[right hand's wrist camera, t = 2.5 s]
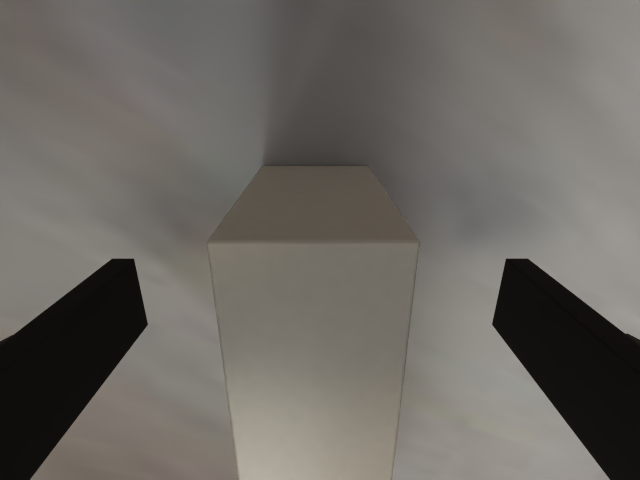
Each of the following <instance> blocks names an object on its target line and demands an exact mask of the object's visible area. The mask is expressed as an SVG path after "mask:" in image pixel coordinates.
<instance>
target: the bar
mask: <svg viewBox="0 0 640 480" xmlns="http://www.w3.org/2000/svg"><path fill="white" fill-rule="evenodd" d="M207 247H208V254H209V262H210V270H211V277H212V285H213V292H214V300H215V307H216V315H217V322H218V330H219V337H220V345H221V353H222V360H223V368H224V375H225V383H226V390H227V398H228V405H229V413H230V420H231V428H232V436H233V443H234V451H235V458H236V466H237V473H238V480H392V474H393V466H394V457H395V449H396V440H397V431H398V423H399V414H400V406H401V397H402V389H403V380H404V371H405V363H406V354H407V346H408V337H409V329H410V320H411V311H412V303H413V294H414V286H415V277H416V269H417V260H418V252H419V240H418V238H417V237H416V235H415V234H414V232H413V231H412V229H411V228H410V226H409V225H408V224H407V222H406V221H405V219H404V218H403V216H402V215H401V213H400V212H399V210H398V209H397V207H396V206H395V204H394V203H393V201H392V200H391V198H390V197H389V196H388V194H387V193H386V191H385V190H384V188H383V187H382V185H381V184H380V182H379V181H378V179H377V178H376V176H375V175H374V173H373V172H372V170H371V169H370V168H369V166H262V167H261V169H260V170H259V171H258V173H257V174H256V175H255V177H254V178H253V180H252V181H251V182H250V184H249V185H248V186H247V188H246V189H245V190H244V192H243V193H242V195H241V196H240V197H239V199H238V200H237V201H236V203H235V204H234V205H233V207H232V208H231V210H230V211H229V212H228V214H227V215H226V216H225V218H224V219H223V220H222V222H221V223H220V225H219V226H218V227H217V229H216V230H215V231H214V233H213V234H212V235H211V237H210V238H209V240H208V242H207Z"/></svg>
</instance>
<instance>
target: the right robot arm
mask: <svg viewBox="0 0 640 480" xmlns="http://www.w3.org/2000/svg"><path fill="white" fill-rule="evenodd" d="M147 325H148V323H147V318H146V314H145V309H144V304H143V299H142V295H141V290H140V285H139V280H138V276H137V271H136V266H135V262H134V259H111V260H110V261H109V262H107V263H106V264H105V265H103V266H102V267H101V268H100V269H98V270H97V271H96V272H94V273H93V274H92V275H91V276H89V277H88V278H87V279H85V280H84V281H83V282H81V283H80V284H79V285H78V286H76V287H75V288H74V289H72V290H71V291H70V292H69V293H67V294H66V295H65V296H63V297H62V298H61V299H59V300H58V301H57V302H56V303H54V304H53V305H52V306H50V307H49V308H48V309H47V310H45V311H44V312H43V313H41V314H40V315H39V316H37V317H36V318H35V319H34V320H32V321H31V322H30V323H28V324H27V325H26V326H24V327H23V328H22V329H21V330H19V331H18V332H17V333H15V334H14V335H12V336H10V337H8V338H6V339H4V340H2V341H0V480H30V479H31V477H32V476H33V475H34V474H35V472H36V471H37V470H38V468H39V467H40V466H41V464H42V463H43V462H44V460H45V459H46V458H47V456H48V455H49V454H50V452H51V451H52V450H53V449H54V447H55V446H56V445H57V443H58V442H59V441H60V439H61V438H62V437H63V435H64V434H65V433H66V431H67V430H68V429H69V428H70V426H71V425H72V424H73V422H74V421H75V420H76V418H77V417H78V416H79V414H80V413H81V412H82V410H83V409H84V408H85V407H86V405H87V404H88V403H89V401H90V400H91V399H92V397H93V396H94V395H95V393H96V392H97V391H98V389H99V388H100V387H101V385H102V384H103V383H104V382H105V380H106V379H107V378H108V376H109V375H110V374H111V372H112V371H113V370H114V368H115V367H116V366H117V364H118V363H119V362H120V361H121V359H122V358H123V357H124V355H125V354H126V353H127V351H128V350H129V349H130V347H131V346H132V345H133V343H134V342H135V341H136V339H137V338H138V337H139V336H140V334H141V333H142V332H143V330H144V329H145V328H146V326H147ZM492 325H493V326H494V328H495V329H496V330H497V332H498V333H499V334H500V336H501V337H502V338H503V339H504V341H505V342H506V343H507V345H508V346H509V347H510V349H511V350H512V351H513V353H514V354H515V355H516V357H517V358H518V359H519V361H520V362H521V363H522V364H523V366H524V367H525V368H526V370H527V371H528V372H529V374H530V375H531V376H532V378H533V379H534V380H535V382H536V383H537V384H538V385H539V387H540V388H541V389H542V391H543V392H544V393H545V395H546V396H547V397H548V399H549V400H550V401H551V403H552V404H553V405H554V407H555V408H556V409H557V410H558V412H559V413H560V414H561V416H562V417H563V418H564V420H565V421H566V422H567V424H568V425H569V426H570V428H571V429H572V430H573V431H574V433H575V434H576V435H577V437H578V438H579V439H580V441H581V442H582V443H583V445H584V446H585V447H586V449H587V450H588V451H589V453H590V454H591V455H592V456H593V458H594V459H595V460H596V462H597V463H598V464H599V466H600V467H601V468H602V470H603V471H604V472H605V474H606V475H607V476H608V477H609V479H610V480H640V340H639V339H637V338H635V337H633V336H631V335H629V334H625V333H623V332H622V331H621V330H619V329H618V328H617V327H616V326H614V325H613V324H612V323H610V322H609V321H608V320H606V319H605V318H604V317H603V316H601V315H600V314H599V313H597V312H596V311H595V310H593V309H592V308H591V307H590V306H588V305H587V304H586V303H584V302H583V301H582V300H581V299H579V298H578V297H577V296H575V295H574V294H573V293H571V292H570V291H569V290H568V289H566V288H565V287H564V286H562V285H561V284H560V283H559V282H557V281H556V280H555V279H553V278H552V277H551V276H549V275H548V274H547V273H546V272H544V271H543V270H542V269H540V268H539V267H538V266H537V265H535V264H534V263H533V262H531V261H530V260H529V259H506V262H505V266H504V271H503V276H502V280H501V285H500V290H499V295H498V299H497V304H496V309H495V314H494V318H493V323H492Z"/></svg>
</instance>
